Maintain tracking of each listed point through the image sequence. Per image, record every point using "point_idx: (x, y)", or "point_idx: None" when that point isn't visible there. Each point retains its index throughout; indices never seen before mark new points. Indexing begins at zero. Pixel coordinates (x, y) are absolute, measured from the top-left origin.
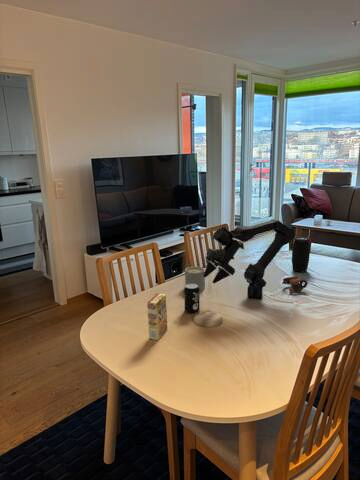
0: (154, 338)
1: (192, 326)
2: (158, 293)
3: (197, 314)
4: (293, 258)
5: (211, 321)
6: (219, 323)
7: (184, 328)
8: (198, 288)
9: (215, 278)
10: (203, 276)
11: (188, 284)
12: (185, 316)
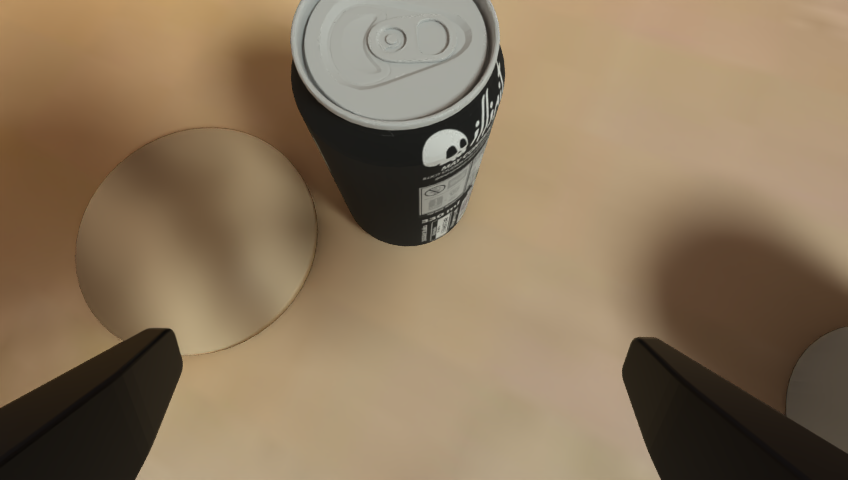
0: None
1: (187, 100)
2: None
3: (300, 185)
4: None
5: (138, 231)
6: (79, 276)
7: (193, 47)
8: (328, 126)
9: (21, 398)
10: (645, 338)
11: (483, 24)
12: None
